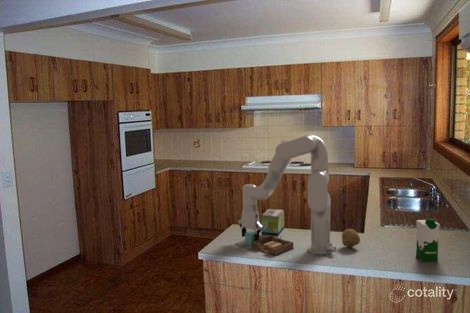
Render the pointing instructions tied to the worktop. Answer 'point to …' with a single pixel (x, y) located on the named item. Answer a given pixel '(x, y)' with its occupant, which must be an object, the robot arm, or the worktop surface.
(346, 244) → the natural sponge
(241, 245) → the slate pad
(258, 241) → the crate
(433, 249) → the milk carton
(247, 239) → the teal block
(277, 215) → the tea box
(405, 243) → the worktop surface
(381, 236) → the worktop surface
